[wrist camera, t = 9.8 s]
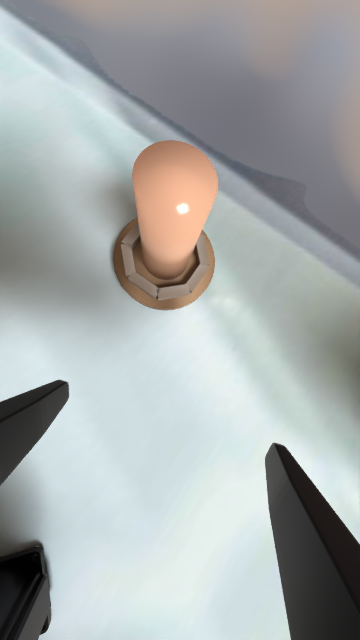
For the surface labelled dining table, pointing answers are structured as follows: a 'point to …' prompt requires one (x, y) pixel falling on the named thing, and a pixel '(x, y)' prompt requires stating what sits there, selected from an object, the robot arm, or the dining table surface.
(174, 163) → the peach rounded knob
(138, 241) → the flange seat
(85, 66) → the dining table surface
